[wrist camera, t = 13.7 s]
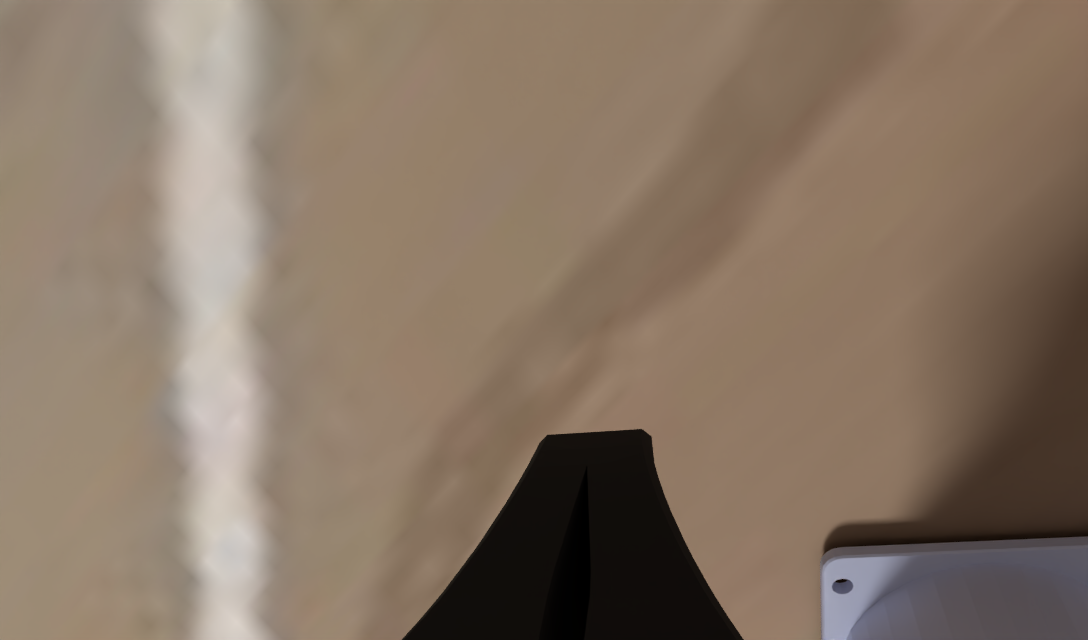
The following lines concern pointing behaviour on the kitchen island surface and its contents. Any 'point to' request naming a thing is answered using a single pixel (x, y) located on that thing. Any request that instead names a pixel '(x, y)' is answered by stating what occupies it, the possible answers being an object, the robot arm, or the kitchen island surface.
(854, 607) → the robot arm
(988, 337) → the kitchen island surface
